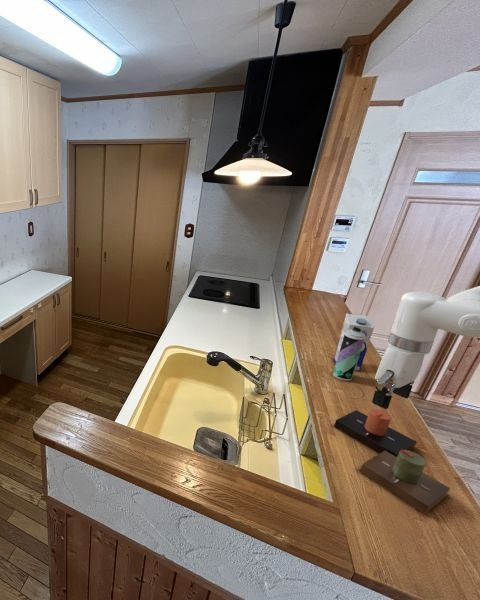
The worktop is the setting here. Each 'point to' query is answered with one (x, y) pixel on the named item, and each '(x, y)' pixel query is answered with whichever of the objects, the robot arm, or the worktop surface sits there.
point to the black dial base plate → (373, 435)
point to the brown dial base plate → (405, 483)
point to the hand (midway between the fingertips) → (390, 400)
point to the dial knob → (377, 422)
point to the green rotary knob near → (408, 466)
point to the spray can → (349, 354)
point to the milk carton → (366, 328)
